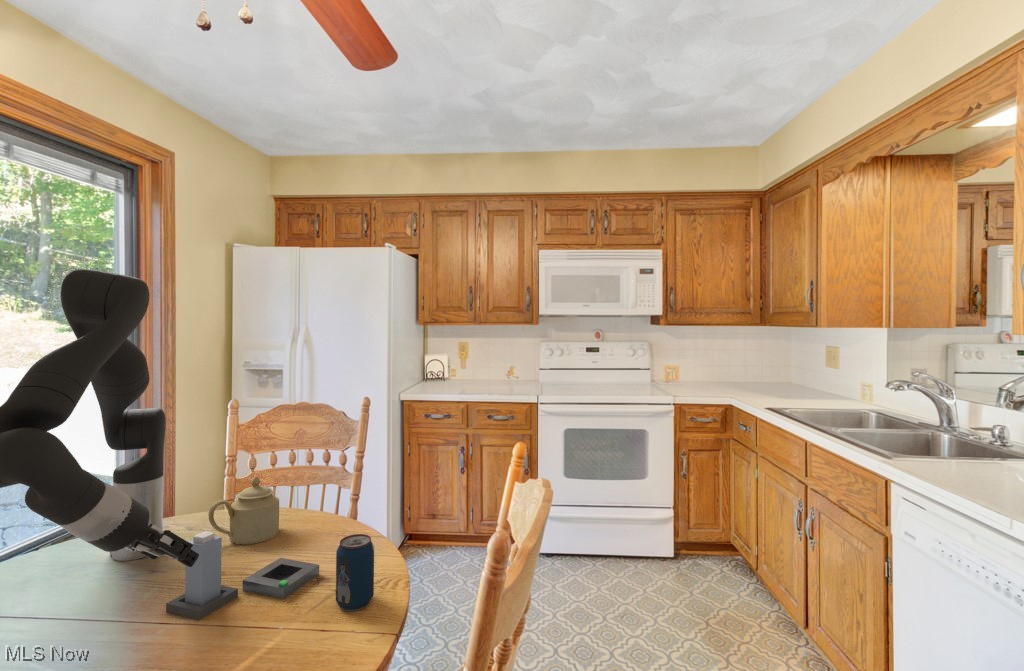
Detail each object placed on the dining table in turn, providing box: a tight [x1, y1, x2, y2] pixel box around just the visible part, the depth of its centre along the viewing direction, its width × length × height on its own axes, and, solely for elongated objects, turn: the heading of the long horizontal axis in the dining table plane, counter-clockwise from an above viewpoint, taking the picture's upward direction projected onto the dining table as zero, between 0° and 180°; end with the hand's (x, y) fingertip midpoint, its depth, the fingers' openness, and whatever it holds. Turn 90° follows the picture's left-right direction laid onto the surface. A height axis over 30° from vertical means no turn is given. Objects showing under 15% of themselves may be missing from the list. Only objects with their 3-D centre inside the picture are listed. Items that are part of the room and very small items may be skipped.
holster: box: [165, 584, 239, 621], centre depth 89 cm, size 8×8×2 cm
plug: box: [184, 530, 223, 606], centre depth 89 cm, size 4×4×13 cm
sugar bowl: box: [207, 476, 280, 545], centre depth 118 cm, size 15×11×15 cm
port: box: [241, 557, 320, 600], centre depth 97 cm, size 10×10×3 cm
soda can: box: [335, 533, 375, 612], centre depth 91 cm, size 7×7×12 cm
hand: (175, 557), depth 84 cm, fingers open, 8 cm apart
